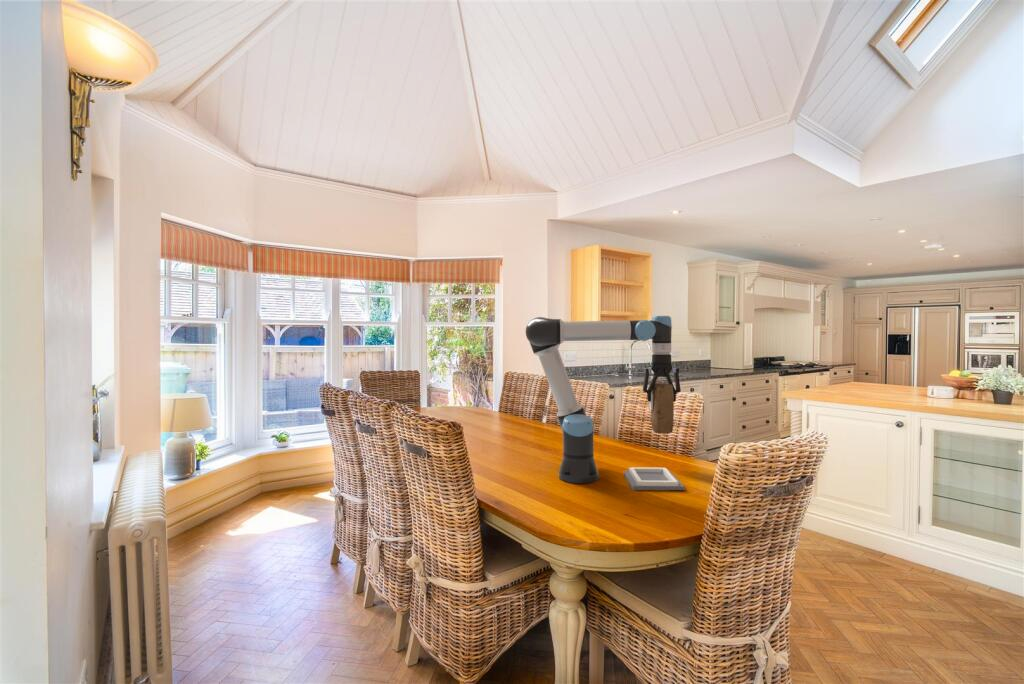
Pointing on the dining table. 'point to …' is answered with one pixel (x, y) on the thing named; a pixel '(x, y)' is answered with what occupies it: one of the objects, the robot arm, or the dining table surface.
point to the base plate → (652, 479)
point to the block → (662, 408)
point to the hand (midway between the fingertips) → (661, 409)
